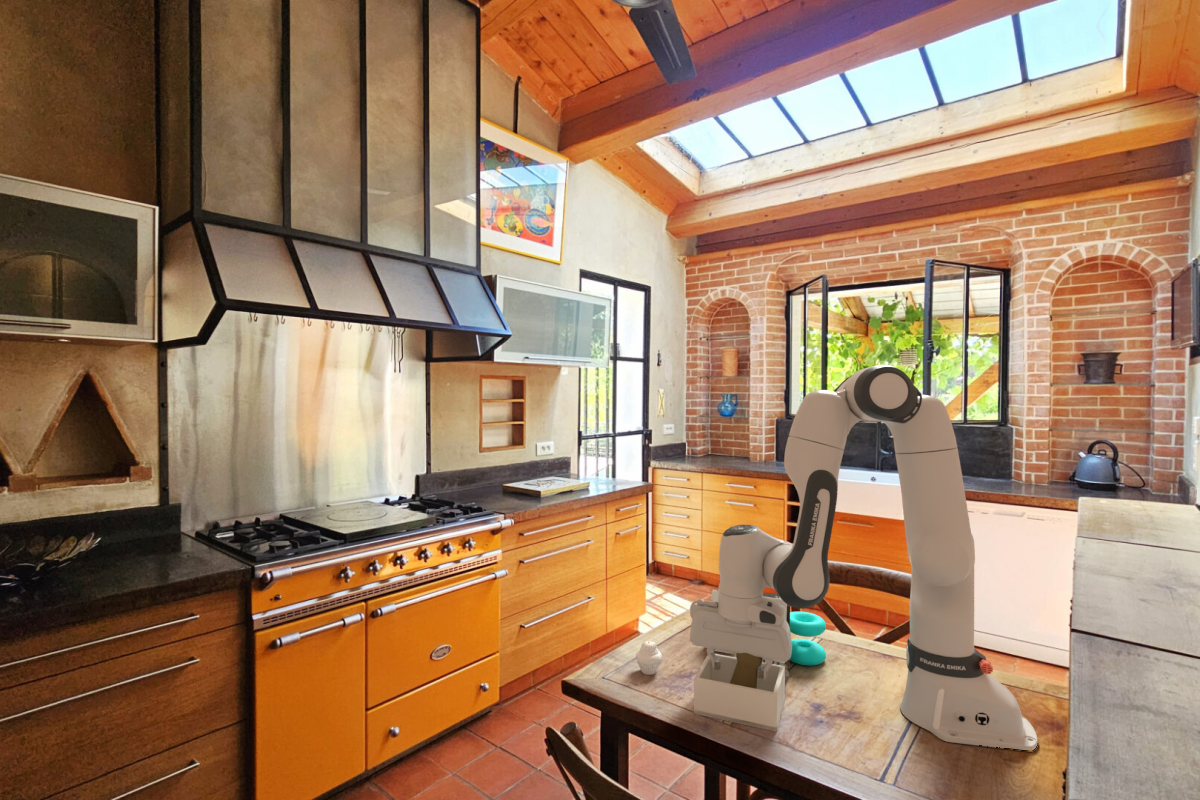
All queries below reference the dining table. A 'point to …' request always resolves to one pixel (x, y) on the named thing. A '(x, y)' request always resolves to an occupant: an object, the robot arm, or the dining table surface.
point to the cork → (746, 670)
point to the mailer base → (739, 695)
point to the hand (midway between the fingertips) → (739, 673)
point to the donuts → (803, 648)
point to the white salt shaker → (649, 658)
